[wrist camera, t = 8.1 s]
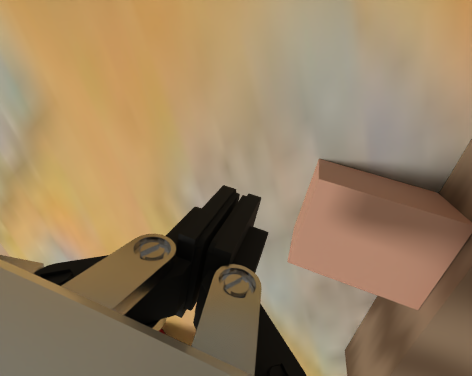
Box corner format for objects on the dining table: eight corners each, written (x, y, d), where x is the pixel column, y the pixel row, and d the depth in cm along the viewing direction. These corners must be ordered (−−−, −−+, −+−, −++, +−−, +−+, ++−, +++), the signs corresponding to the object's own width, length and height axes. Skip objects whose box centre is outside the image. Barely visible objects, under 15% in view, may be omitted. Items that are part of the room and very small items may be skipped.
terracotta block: (319, 158, 19) (318, 178, 15) (436, 191, 18) (476, 226, 13) (294, 226, 22) (287, 262, 17) (396, 261, 20) (417, 310, 16)
